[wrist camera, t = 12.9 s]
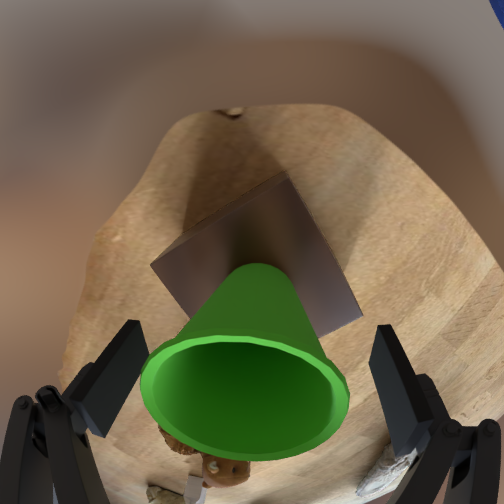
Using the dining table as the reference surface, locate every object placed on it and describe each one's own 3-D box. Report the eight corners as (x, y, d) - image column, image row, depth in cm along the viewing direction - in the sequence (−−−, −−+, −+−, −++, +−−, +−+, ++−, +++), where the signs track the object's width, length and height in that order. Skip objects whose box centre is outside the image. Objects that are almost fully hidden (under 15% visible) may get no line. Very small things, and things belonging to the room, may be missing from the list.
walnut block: (285, 169, 25) (288, 177, 18) (343, 274, 28) (363, 316, 21) (181, 234, 28) (149, 265, 21) (245, 324, 31) (236, 373, 24)
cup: (198, 335, 23) (155, 445, 12) (198, 228, 19) (121, 312, 9) (308, 347, 22) (320, 465, 12) (330, 241, 19) (381, 341, 9)
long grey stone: (344, 487, 49) (380, 480, 48) (347, 504, 44) (384, 496, 44) (400, 416, 35) (446, 405, 35) (409, 441, 30) (456, 427, 30)
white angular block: (204, 478, 47) (196, 513, 38) (207, 487, 50) (200, 519, 40) (188, 475, 48) (179, 509, 38) (192, 485, 50) (184, 516, 41)
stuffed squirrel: (253, 434, 39) (244, 503, 26) (167, 409, 38) (142, 476, 26) (275, 400, 35) (271, 482, 23) (175, 371, 35) (143, 448, 23)
